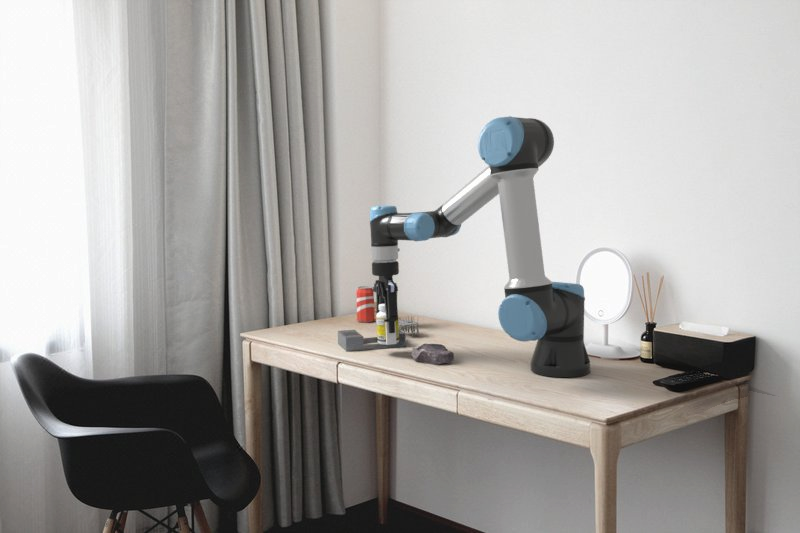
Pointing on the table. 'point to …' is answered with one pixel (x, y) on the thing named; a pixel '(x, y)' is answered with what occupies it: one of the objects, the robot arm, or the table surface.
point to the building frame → (408, 324)
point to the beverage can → (365, 304)
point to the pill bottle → (384, 326)
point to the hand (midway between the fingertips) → (387, 341)
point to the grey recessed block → (365, 341)
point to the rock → (433, 354)
